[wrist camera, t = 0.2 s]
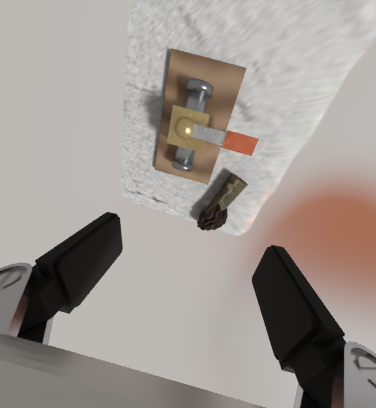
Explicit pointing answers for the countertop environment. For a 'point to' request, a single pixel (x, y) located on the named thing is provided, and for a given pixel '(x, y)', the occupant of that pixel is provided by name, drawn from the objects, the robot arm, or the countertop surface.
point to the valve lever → (215, 136)
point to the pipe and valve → (195, 112)
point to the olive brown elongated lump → (221, 204)
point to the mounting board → (217, 109)
